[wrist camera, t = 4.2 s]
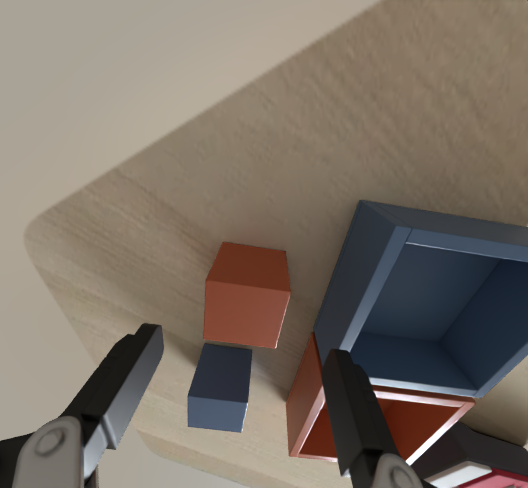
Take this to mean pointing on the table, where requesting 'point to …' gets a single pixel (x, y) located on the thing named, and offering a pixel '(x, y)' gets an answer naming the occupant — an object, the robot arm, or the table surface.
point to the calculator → (472, 461)
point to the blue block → (220, 389)
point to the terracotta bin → (392, 405)
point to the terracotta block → (246, 295)
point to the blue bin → (428, 300)
